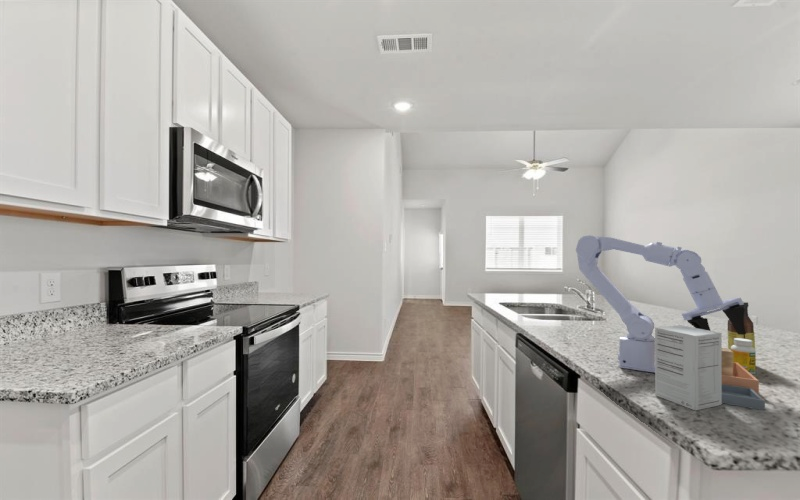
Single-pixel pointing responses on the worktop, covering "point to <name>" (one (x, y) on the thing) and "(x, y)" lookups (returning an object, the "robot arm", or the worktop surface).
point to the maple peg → (727, 362)
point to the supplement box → (688, 366)
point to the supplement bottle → (744, 354)
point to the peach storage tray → (741, 378)
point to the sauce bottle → (748, 329)
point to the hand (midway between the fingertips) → (727, 338)
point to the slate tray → (742, 397)
